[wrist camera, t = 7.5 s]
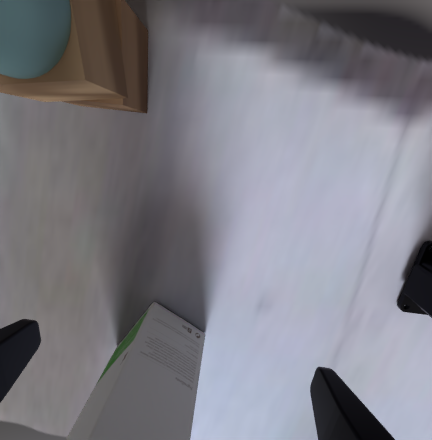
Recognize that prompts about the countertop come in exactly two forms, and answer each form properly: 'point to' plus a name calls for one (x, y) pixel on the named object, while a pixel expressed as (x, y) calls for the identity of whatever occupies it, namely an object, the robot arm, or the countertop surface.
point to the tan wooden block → (81, 60)
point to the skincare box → (146, 383)
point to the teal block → (32, 36)
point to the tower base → (128, 64)
